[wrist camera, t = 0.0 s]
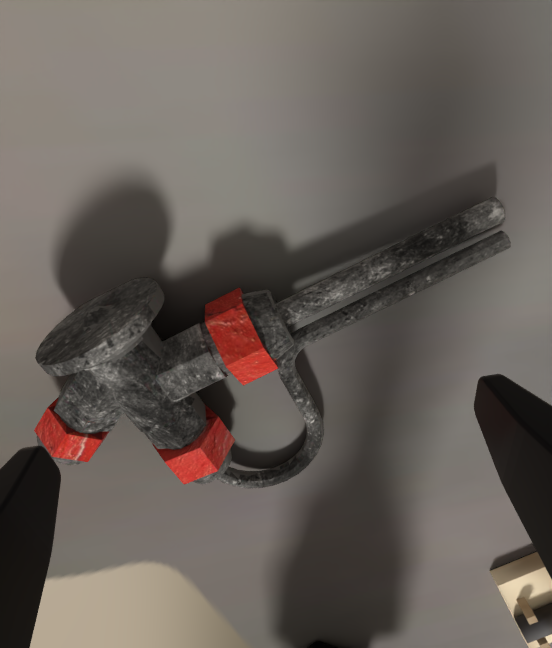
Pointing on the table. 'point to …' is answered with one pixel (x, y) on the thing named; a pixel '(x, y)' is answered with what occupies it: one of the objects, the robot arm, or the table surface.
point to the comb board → (528, 597)
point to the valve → (223, 354)
